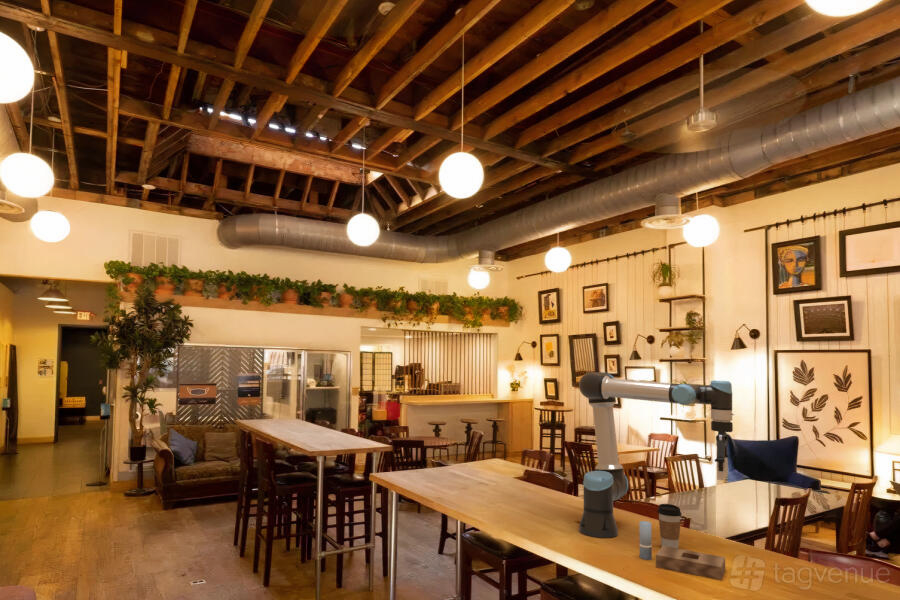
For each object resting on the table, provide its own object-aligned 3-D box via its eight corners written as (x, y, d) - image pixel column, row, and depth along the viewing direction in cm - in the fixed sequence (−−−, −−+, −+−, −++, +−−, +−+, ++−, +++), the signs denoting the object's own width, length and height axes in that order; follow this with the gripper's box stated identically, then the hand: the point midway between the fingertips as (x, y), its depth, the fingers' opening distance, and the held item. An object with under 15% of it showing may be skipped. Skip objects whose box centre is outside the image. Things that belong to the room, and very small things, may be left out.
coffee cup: (676, 544, 215) (675, 503, 217) (686, 551, 207) (685, 509, 209) (654, 543, 215) (654, 503, 217) (663, 551, 207) (663, 508, 208)
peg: (638, 558, 197) (638, 522, 199) (641, 555, 201) (640, 520, 202) (650, 560, 195) (650, 524, 197) (652, 557, 199) (652, 522, 200)
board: (655, 567, 189) (655, 554, 189) (662, 557, 199) (662, 545, 199) (721, 580, 179) (721, 567, 179) (725, 569, 189) (725, 557, 189)
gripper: (730, 423, 205) (731, 483, 203) (734, 419, 226) (735, 473, 224) (707, 422, 209) (708, 481, 206) (713, 418, 230) (714, 471, 228)
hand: (722, 477), depth 215 cm, fingers open, 13 cm apart
